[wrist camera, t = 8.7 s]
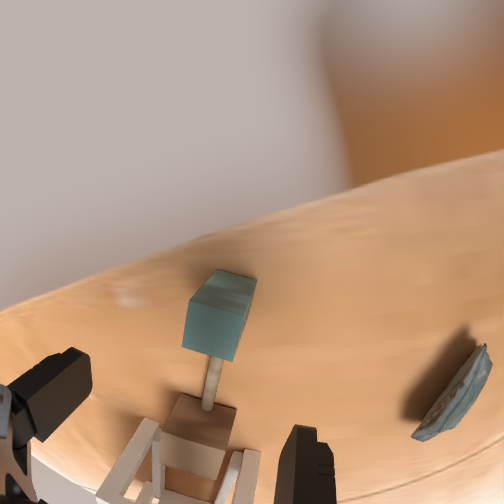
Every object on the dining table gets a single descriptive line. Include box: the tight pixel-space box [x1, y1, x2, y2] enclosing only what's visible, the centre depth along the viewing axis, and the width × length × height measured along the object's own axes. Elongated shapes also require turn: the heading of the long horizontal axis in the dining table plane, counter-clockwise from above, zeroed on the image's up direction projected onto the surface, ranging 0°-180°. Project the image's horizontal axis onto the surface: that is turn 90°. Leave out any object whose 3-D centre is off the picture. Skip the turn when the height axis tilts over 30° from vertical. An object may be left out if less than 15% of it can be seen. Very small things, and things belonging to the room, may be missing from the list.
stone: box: [411, 343, 492, 442], centre depth 18 cm, size 11×4×10 cm
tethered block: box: [160, 270, 257, 481], centre depth 19 cm, size 5×17×6 cm, turn 167°
